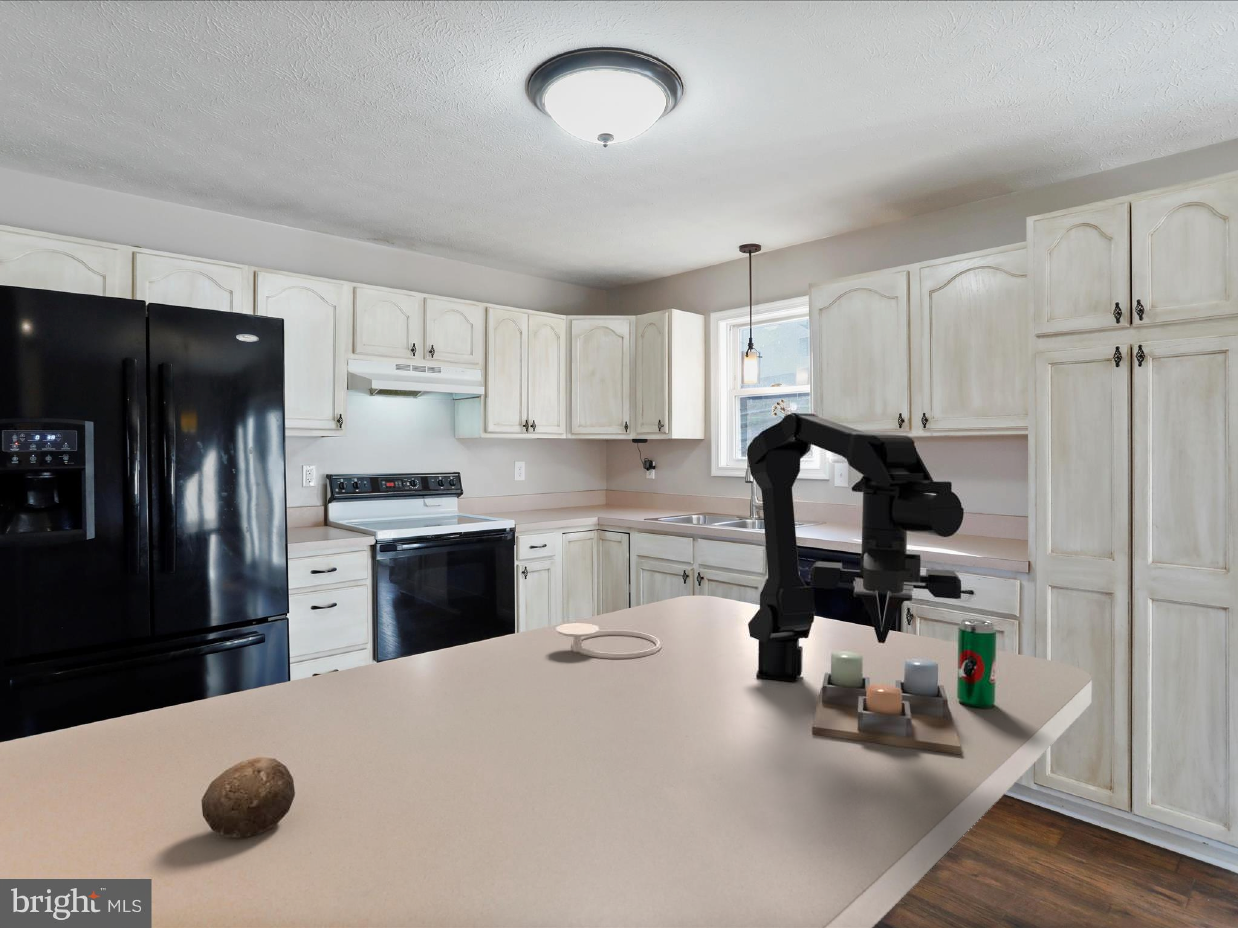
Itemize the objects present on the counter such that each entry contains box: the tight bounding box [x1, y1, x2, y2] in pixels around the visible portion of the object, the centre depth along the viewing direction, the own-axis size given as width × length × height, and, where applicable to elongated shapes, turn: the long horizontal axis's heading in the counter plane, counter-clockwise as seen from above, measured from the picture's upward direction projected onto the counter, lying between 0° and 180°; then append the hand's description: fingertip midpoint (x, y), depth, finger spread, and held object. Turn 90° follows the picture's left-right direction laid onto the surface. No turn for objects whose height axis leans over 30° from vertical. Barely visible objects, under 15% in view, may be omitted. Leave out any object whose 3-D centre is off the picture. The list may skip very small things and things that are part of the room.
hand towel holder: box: [555, 622, 662, 660], centre depth 134 cm, size 17×4×20 cm
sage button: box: [830, 650, 864, 688], centre depth 104 cm, size 4×4×4 cm
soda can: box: [956, 618, 997, 709], centre depth 105 cm, size 5×5×12 cm
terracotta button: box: [866, 683, 902, 716], centre depth 94 cm, size 4×4×4 cm
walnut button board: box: [811, 672, 962, 755], centre depth 98 cm, size 18×16×3 cm
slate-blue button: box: [903, 657, 939, 696], centre depth 101 cm, size 4×4×4 cm
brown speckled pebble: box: [201, 756, 296, 839], centre depth 70 cm, size 8×8×6 cm
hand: (881, 642), depth 97 cm, fingers closed
